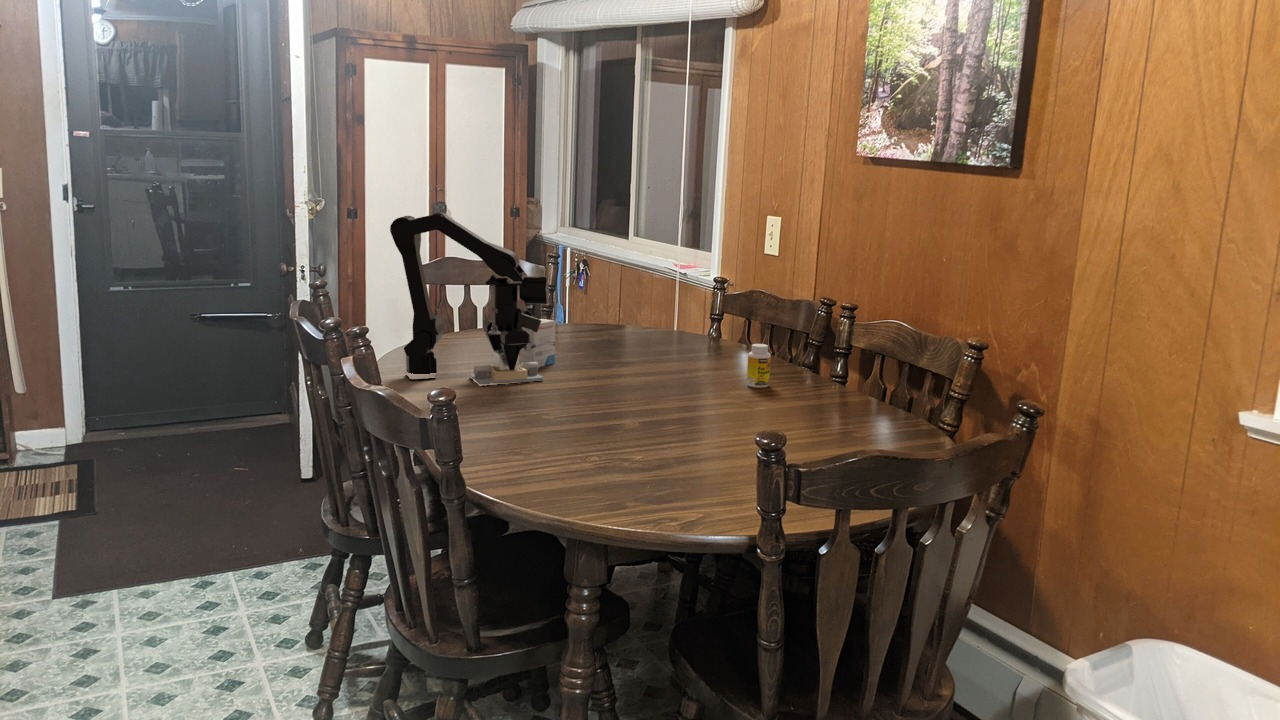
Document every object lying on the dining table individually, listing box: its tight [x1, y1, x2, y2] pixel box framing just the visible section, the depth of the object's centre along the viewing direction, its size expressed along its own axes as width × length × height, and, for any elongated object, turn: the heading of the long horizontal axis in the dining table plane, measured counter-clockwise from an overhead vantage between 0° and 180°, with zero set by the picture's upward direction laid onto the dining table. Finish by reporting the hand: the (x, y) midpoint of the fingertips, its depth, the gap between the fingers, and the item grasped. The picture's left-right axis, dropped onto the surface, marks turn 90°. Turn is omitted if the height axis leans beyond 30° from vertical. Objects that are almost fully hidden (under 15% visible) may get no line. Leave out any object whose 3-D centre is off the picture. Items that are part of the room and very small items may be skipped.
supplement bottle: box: [746, 343, 772, 389], centre depth 245 cm, size 6×6×10 cm
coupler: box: [492, 348, 520, 372], centre depth 245 cm, size 5×5×7 cm
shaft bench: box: [469, 362, 544, 384], centre depth 246 cm, size 16×9×4 cm, turn 115°
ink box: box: [520, 318, 557, 367], centre depth 262 cm, size 9×5×12 cm, turn 143°
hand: (506, 366), depth 245 cm, fingers open, 9 cm apart
